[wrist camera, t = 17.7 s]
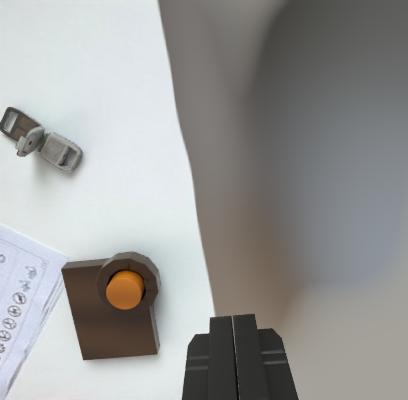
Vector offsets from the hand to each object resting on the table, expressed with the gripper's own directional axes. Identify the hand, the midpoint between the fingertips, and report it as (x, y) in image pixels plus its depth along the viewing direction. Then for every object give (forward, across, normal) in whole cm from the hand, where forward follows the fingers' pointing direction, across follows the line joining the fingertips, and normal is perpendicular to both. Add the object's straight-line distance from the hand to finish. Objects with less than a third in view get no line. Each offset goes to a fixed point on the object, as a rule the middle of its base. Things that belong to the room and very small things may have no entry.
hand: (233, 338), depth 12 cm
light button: (+23, +11, +10) cm, 28 cm away
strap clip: (+27, +18, -6) cm, 33 cm away
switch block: (+26, +13, +13) cm, 32 cm away
